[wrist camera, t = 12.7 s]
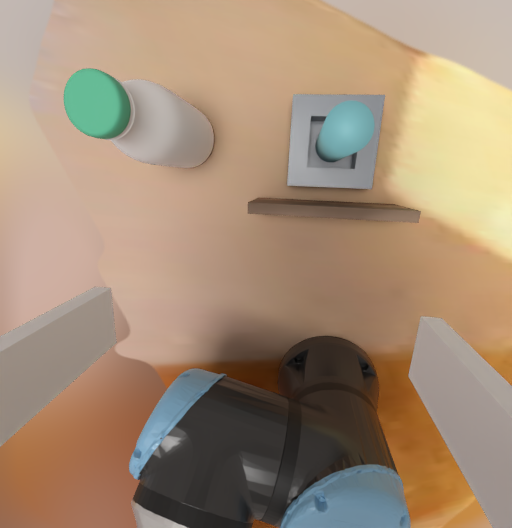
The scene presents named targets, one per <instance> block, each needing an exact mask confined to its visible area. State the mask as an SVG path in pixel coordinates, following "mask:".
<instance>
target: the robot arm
mask: <svg viewBox="0 0 512 528" xmlns="http://www.w3.org/2000/svg"><path fill="white" fill-rule="evenodd" d="M116 343H117V342H116V332H115V323H114V313H113V303H112V293H111V288H105V287H94V288H92V289H90V290H88V291H86V292H84V293H82V294H80V295H78V296H76V297H75V298H73V299H71V300H69V301H67V302H65V303H63V304H61V305H59V306H57V307H55V308H54V309H52V310H50V311H48V312H46V313H44V314H42V315H40V316H39V317H37V318H34V319H33V320H31V321H29V322H27V323H25V324H23V325H22V326H19V327H17V328H15V329H13V330H12V331H10V332H8V333H6V334H4V335H2V336H0V446H2V445H3V444H4V443H5V442H6V441H7V440H8V439H9V438H10V437H12V436H13V435H14V434H15V433H16V432H17V431H18V430H19V429H21V428H22V427H23V426H24V425H25V424H26V423H27V422H28V421H30V420H31V419H32V418H33V417H34V416H35V415H36V414H37V413H38V412H40V411H41V410H42V409H43V408H44V407H45V406H46V405H47V404H49V403H50V402H51V401H52V400H53V399H54V398H55V397H56V396H58V394H60V393H61V392H62V391H63V390H64V389H65V388H66V387H68V386H69V385H70V384H71V383H72V382H73V381H74V380H75V379H77V378H78V377H79V376H80V375H81V374H82V373H83V372H84V371H86V370H87V369H88V368H89V367H90V366H91V365H92V364H93V363H94V362H96V361H97V360H98V359H99V358H100V357H101V356H102V355H103V354H105V353H106V352H107V351H108V350H109V349H110V348H111V347H112V346H113V345H115V344H116ZM408 376H409V378H410V380H411V382H412V384H413V385H414V387H415V389H416V391H417V393H418V394H419V396H420V398H421V400H422V402H423V403H424V405H425V407H426V409H427V411H428V412H429V414H430V416H431V418H432V420H433V421H434V423H435V425H436V427H437V428H438V430H439V432H440V434H441V436H442V437H443V439H444V441H445V443H446V445H447V446H448V448H449V450H450V452H451V454H452V455H453V457H454V459H455V461H456V463H457V464H458V466H459V468H460V470H461V472H462V473H463V475H464V477H465V479H466V481H467V482H468V484H469V486H470V488H471V490H472V491H473V493H474V495H475V497H476V499H477V500H478V502H479V504H480V506H481V507H482V509H483V511H484V513H485V515H486V516H487V518H488V520H489V522H490V524H491V525H492V527H493V528H512V386H511V385H510V384H509V383H508V382H507V381H506V380H505V379H504V378H503V377H502V376H501V375H500V374H499V373H498V372H497V371H496V370H495V369H493V368H492V367H491V366H490V365H489V364H488V363H487V362H486V361H485V360H484V359H483V358H482V357H481V356H480V355H479V354H478V353H477V352H476V351H475V350H474V349H473V348H472V347H471V346H470V345H469V344H468V343H467V342H466V341H465V340H464V339H463V338H462V337H460V336H459V335H458V334H457V333H456V332H455V331H454V330H453V329H452V328H451V327H450V326H449V325H448V324H447V323H446V322H445V321H444V320H443V319H442V318H435V317H424V316H421V318H420V323H419V327H418V332H417V337H416V342H415V347H414V351H413V356H412V361H411V366H410V370H409V375H408ZM278 391H279V394H277V393H274V392H271V391H268V390H265V389H262V388H259V387H256V386H253V385H250V384H247V383H244V382H241V381H238V380H235V379H232V378H229V377H227V375H226V374H216V373H213V372H209V371H206V370H202V369H197V368H193V369H189V370H187V371H185V372H183V373H182V374H181V375H179V376H178V377H177V378H176V380H174V382H173V383H172V384H171V385H170V387H169V388H168V389H167V390H166V392H165V393H164V395H163V396H162V398H161V399H160V401H159V402H158V404H157V405H156V407H155V409H154V410H153V412H152V414H151V416H150V417H149V419H148V421H147V423H146V425H145V427H144V428H143V431H142V433H141V434H140V437H139V439H138V441H137V446H136V448H135V450H134V452H133V454H132V456H131V460H130V463H129V471H130V473H131V474H132V475H133V477H134V478H135V479H138V480H139V479H140V483H139V485H138V487H137V490H136V492H135V495H134V497H133V500H132V502H131V504H132V508H133V512H134V515H135V519H136V522H137V528H252V523H253V521H254V519H257V520H259V521H263V522H266V523H268V524H271V525H273V526H276V527H279V528H410V516H409V512H408V508H407V504H406V500H405V496H404V492H403V484H402V480H401V479H400V476H399V475H398V473H397V470H396V467H395V464H394V461H393V458H392V456H391V453H390V450H389V447H388V444H387V441H386V438H385V436H384V433H383V430H382V427H381V424H380V421H379V418H378V415H377V404H378V396H379V382H378V377H377V374H376V371H375V369H374V366H373V364H372V362H371V360H370V359H369V357H368V356H367V354H366V353H365V352H364V351H363V350H362V349H360V348H359V347H358V346H356V345H355V344H353V343H351V342H349V341H347V340H344V339H341V338H336V337H329V336H322V337H314V338H310V339H307V340H304V341H302V342H300V343H298V344H297V345H295V346H294V347H293V348H291V349H290V350H289V351H288V352H287V354H286V355H285V356H284V358H283V360H282V362H281V364H280V367H279V374H278Z"/></svg>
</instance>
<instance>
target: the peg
mask: <svg viewBox="0 0 512 528" xmlns="http://www.w3.org/2000/svg"><path fill="white" fill-rule="evenodd" d="M374 126H375V124H374V117H373V114H372V112H371V111H370V109H369V108H368V107H367V106H366V105H365V104H363V103H361V102H358V101H352V100H351V101H345V102H342V103H340V104H338V105H336V106H335V107H334V108H333V109H332V110H331V111H330V112H329V114H328V115H327V117H326V119H325V122H324V124H323V126H322V129H321V131H320V133H319V136H318V138H317V141H316V145H315V148H316V153H317V155H318V156H319V158H320V159H322V160H323V161H325V162H336V161H338V160H340V159H342V158H345V157H347V156H349V155H351V154H353V153H355V152H358V151H360V150H361V149H362V148H364V147H365V146H366V145H367V144H368V142H369V141H370V139H371V137H372V135H373V132H374Z"/></svg>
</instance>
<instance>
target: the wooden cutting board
mask: <svg viewBox="0 0 512 528" xmlns="http://www.w3.org/2000/svg"><path fill="white" fill-rule="evenodd" d="M420 212H421V211H418V210H414V209H410V208H406V207H402V206H398V205H394V204H375V203H354V202H334V201H313V200H293V199H272V198H257V199H255V200H253V201H250V202H248V214H265V215H283V216H301V217H319V218H337V219H356V220H374V221H392V222H410V223H419V217H420Z"/></svg>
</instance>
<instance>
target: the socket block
mask: <svg viewBox="0 0 512 528" xmlns="http://www.w3.org/2000/svg"><path fill="white" fill-rule="evenodd" d="M384 99H385V95H308V94H293V105H292V120H291V135H290V150H289V166H288V181H287V185H288V186H311V187H334V188H358V189H372V184H373V177H374V170H375V162H376V155H377V148H378V141H379V134H380V127H381V120H382V113H383V106H384ZM351 100H352V101H358V102H361V103H363V104H365V105H366V106H367V107H368V108H369V109H370V111H371V112H372V114H373V117H374V124H375V126H374V132H373V135H372V137H371V139H370V141H369V142H368V144H367V145H366V146H365V147H364V148H362V149H361V150H360V151H358V152H355V153H353V154H351V155H349V156H347V157H345V158H342V159H340V160H338V161H336V162H325V161H323V160H322V159H320V158H319V156H318V155H317V153H316V148H315V145H316V141H317V138H318V136H319V133H320V131H321V129H322V126H323V124H324V122H325V119H326V117H327V115H328V114H329V112H330V111H331V110H332V109H333V108H334V107H335V106H336V105H338V104H340V103H342V102H345V101H351Z"/></svg>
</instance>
